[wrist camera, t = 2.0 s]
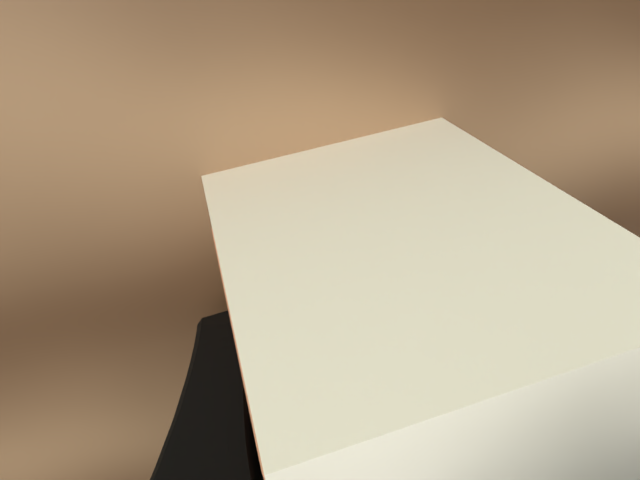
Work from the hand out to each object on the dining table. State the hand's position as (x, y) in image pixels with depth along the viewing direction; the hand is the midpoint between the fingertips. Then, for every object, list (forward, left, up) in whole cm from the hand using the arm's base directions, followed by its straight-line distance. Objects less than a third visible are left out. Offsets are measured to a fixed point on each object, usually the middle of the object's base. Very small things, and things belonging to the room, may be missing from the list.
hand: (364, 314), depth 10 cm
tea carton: (0, 0, -1) cm, 1 cm away
